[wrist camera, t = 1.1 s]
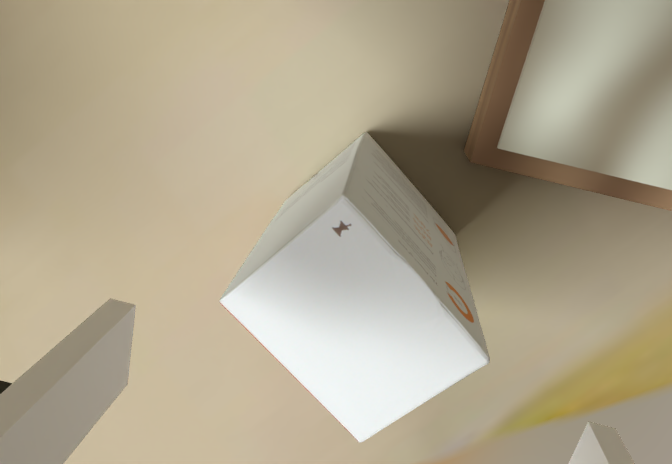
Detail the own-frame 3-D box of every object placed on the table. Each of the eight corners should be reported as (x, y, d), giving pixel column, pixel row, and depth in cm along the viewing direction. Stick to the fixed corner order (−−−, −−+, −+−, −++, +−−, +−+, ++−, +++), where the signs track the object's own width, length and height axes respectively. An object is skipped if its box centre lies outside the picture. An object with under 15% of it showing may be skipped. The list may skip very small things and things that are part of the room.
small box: (283, 200, 32) (211, 300, 20) (366, 128, 30) (344, 189, 18) (374, 299, 33) (360, 449, 21) (458, 236, 31) (497, 361, 19)
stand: (463, 150, 30) (471, 163, 27) (554, -147, 25) (577, -174, 22) (719, 212, 29) (757, 232, 26) (861, -78, 25) (929, -95, 21)
